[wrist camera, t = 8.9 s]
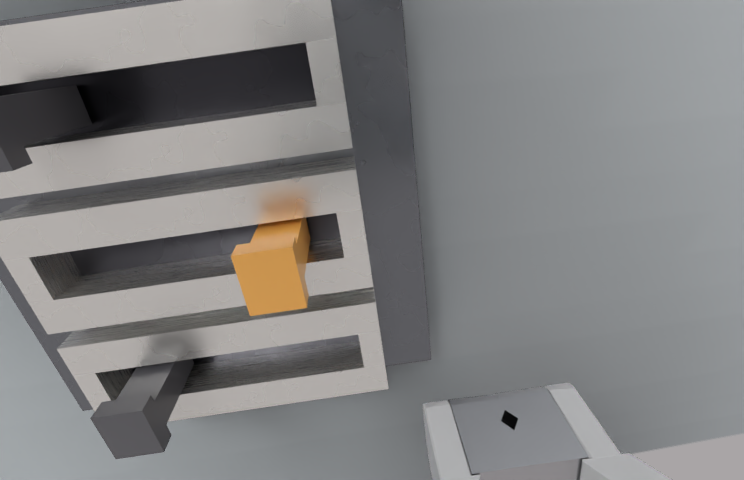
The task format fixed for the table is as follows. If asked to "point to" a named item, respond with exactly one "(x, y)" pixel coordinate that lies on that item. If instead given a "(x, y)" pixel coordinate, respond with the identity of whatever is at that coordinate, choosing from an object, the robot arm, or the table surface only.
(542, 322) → the table surface
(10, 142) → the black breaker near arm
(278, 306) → the orange breaker
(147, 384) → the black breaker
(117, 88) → the breaker board
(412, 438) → the table surface
